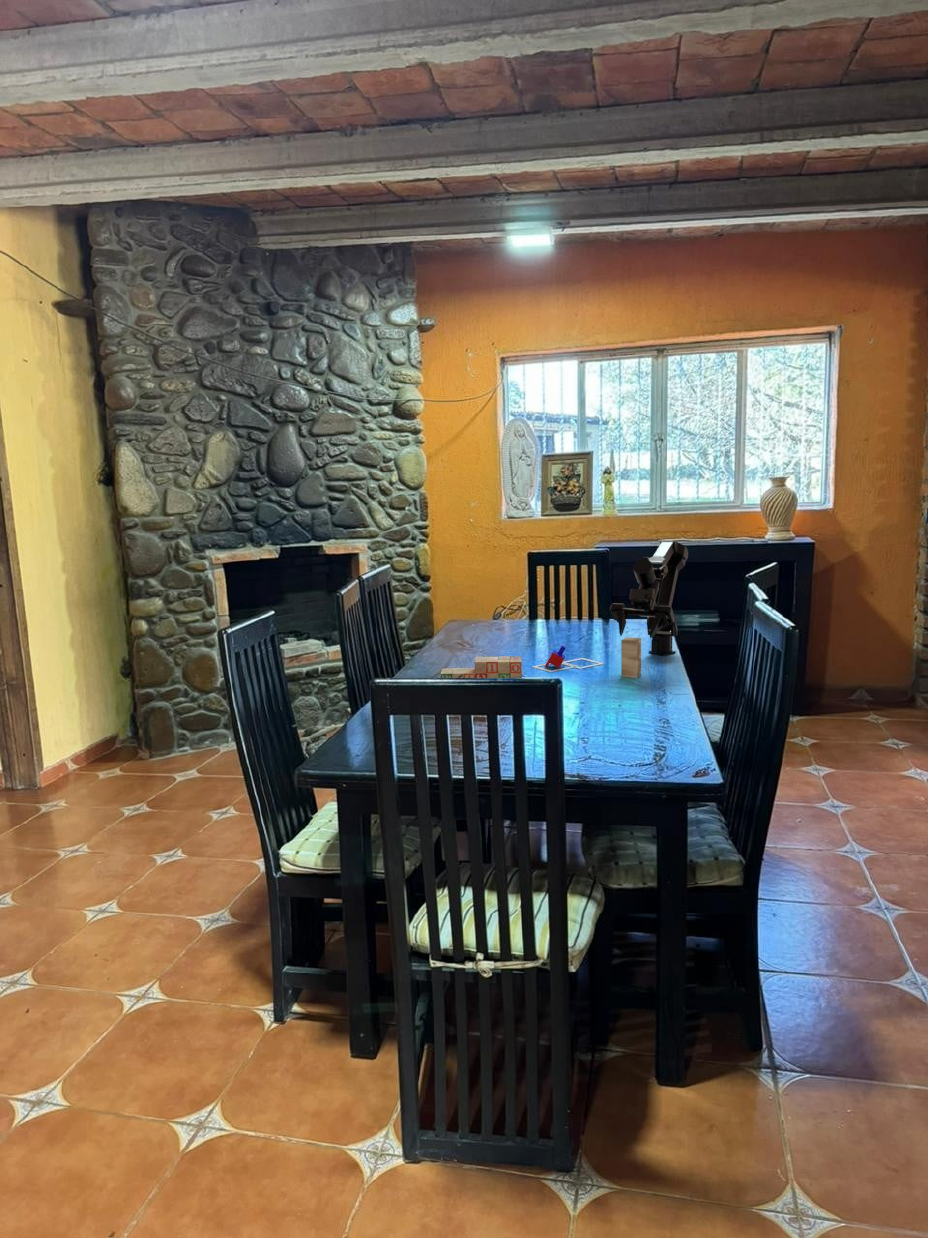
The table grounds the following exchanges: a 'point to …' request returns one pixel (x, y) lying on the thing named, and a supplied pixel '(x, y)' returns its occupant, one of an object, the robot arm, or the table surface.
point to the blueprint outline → (569, 665)
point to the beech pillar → (631, 657)
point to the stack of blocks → (488, 668)
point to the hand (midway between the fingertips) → (635, 636)
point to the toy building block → (556, 657)
